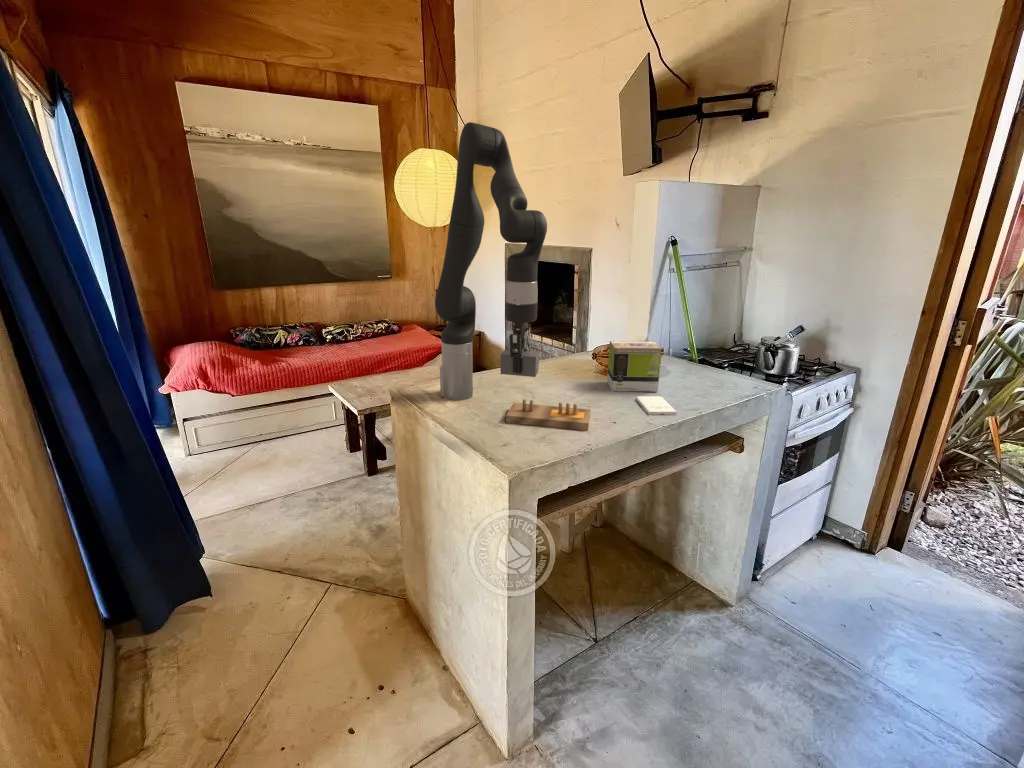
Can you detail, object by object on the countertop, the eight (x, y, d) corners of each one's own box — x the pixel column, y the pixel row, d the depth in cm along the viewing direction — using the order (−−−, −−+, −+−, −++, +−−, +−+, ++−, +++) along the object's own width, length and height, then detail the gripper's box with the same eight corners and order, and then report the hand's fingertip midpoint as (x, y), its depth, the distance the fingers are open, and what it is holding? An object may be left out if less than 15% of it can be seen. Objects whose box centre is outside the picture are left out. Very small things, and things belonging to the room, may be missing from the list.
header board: (506, 422, 133) (506, 405, 132) (513, 409, 143) (513, 392, 141) (588, 430, 129) (589, 412, 128) (590, 416, 139) (591, 399, 137)
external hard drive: (661, 401, 153) (676, 416, 141) (635, 401, 152) (648, 416, 140) (662, 396, 152) (677, 411, 140) (636, 396, 152) (648, 411, 140)
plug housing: (500, 374, 120) (500, 354, 118) (504, 368, 124) (505, 349, 122) (535, 377, 118) (536, 356, 117) (538, 371, 122) (539, 352, 121)
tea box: (650, 382, 168) (655, 340, 163) (657, 392, 158) (663, 348, 154) (606, 381, 168) (609, 339, 163) (610, 391, 159) (614, 347, 154)
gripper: (512, 294, 123) (511, 360, 128) (498, 304, 109) (497, 377, 115) (542, 296, 121) (539, 363, 127) (531, 306, 108) (529, 380, 114)
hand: (519, 369), depth 121 cm, fingers closed on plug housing, 4 cm apart
